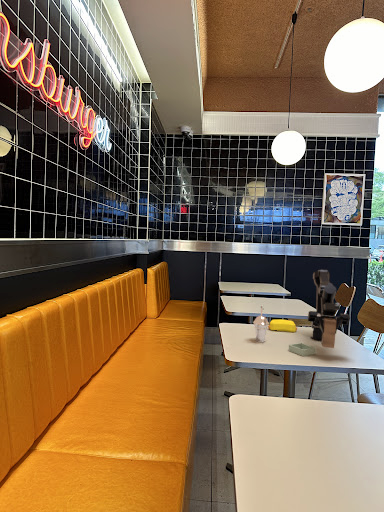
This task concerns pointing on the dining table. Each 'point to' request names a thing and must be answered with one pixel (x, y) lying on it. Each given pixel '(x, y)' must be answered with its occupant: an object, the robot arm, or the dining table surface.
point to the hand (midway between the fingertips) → (329, 332)
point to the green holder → (302, 349)
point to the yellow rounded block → (282, 325)
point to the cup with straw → (260, 327)
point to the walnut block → (329, 332)
